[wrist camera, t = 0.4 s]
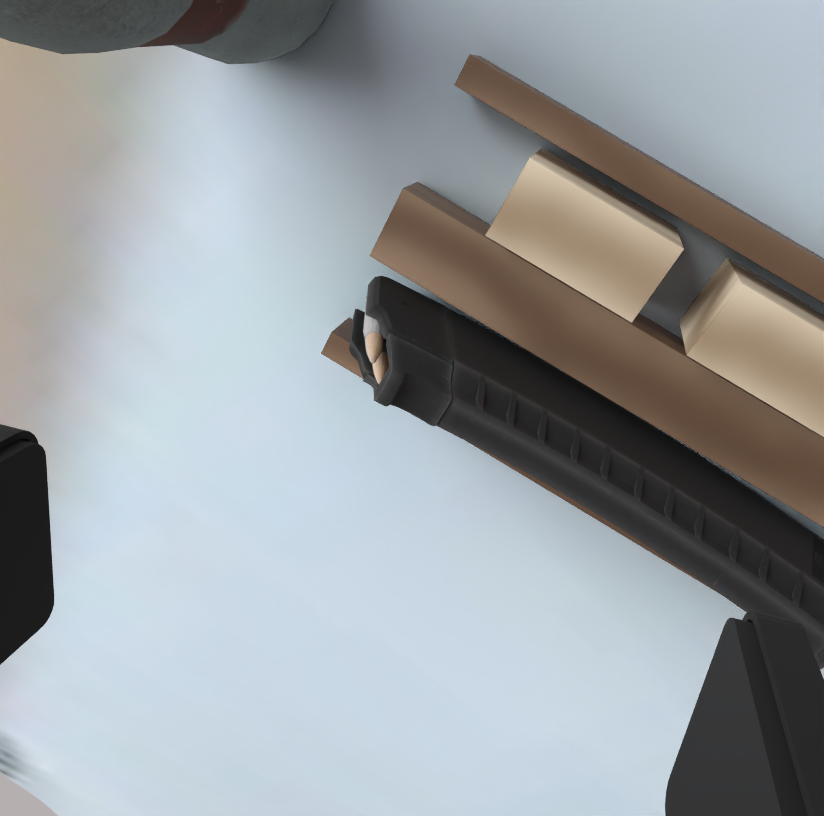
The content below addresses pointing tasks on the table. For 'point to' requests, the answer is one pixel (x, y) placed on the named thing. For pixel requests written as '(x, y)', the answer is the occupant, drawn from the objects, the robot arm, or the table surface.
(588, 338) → the rack
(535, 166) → the offcut
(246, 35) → the bottle
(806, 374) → the offcut
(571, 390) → the magazine
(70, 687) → the table surface
